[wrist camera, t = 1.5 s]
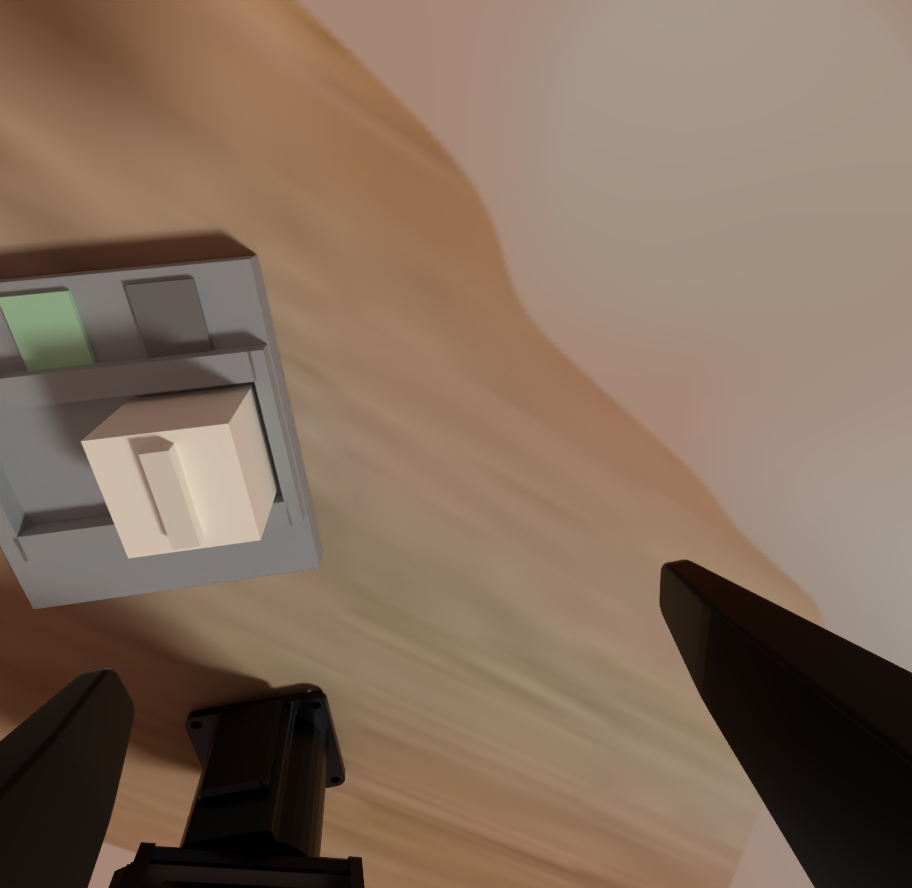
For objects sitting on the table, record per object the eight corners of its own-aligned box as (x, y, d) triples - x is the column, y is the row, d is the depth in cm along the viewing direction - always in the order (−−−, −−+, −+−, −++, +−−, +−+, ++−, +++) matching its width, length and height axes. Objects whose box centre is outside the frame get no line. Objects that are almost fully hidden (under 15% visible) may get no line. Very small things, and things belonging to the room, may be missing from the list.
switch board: (322, 550, 23) (317, 581, 22) (49, 589, 23) (21, 624, 21) (257, 255, 18) (244, 262, 17) (-99, 288, 17) (-154, 300, 16)
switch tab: (278, 486, 21) (257, 549, 17) (166, 501, 20) (121, 568, 17) (252, 384, 19) (223, 430, 15) (131, 398, 18) (71, 448, 15)
